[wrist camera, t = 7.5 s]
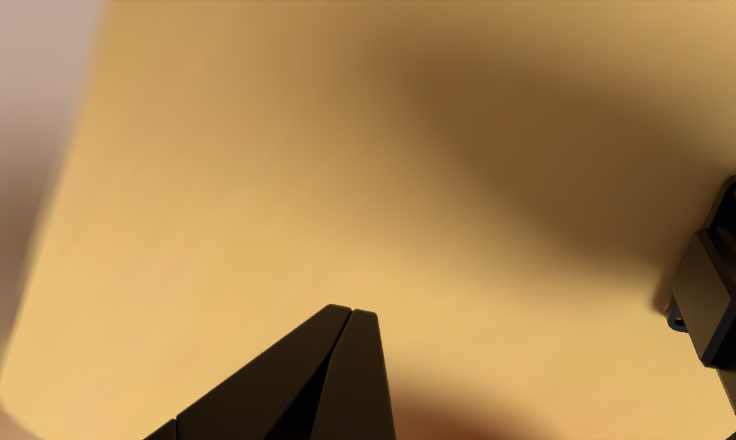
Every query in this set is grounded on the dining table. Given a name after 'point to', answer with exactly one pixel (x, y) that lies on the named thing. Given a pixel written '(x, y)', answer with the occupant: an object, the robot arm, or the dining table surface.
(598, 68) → the dining table surface
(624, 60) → the dining table surface
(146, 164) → the dining table surface
